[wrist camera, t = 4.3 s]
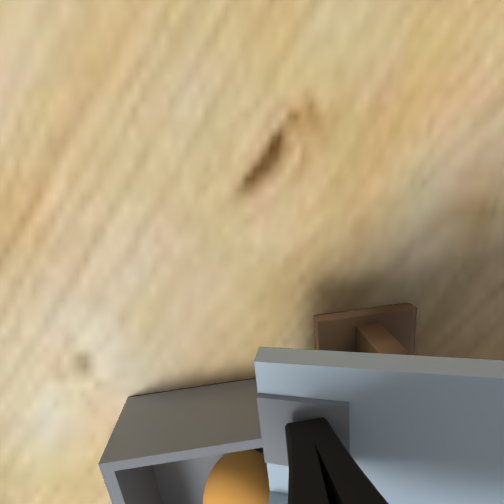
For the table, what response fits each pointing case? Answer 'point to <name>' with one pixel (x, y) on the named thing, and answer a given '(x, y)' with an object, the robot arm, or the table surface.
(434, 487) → the light blue flat piece
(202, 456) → the grey open box
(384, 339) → the stand
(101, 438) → the table surface
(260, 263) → the table surface
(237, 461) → the ball
